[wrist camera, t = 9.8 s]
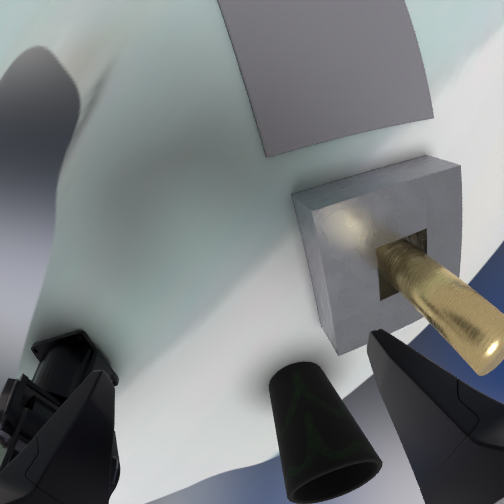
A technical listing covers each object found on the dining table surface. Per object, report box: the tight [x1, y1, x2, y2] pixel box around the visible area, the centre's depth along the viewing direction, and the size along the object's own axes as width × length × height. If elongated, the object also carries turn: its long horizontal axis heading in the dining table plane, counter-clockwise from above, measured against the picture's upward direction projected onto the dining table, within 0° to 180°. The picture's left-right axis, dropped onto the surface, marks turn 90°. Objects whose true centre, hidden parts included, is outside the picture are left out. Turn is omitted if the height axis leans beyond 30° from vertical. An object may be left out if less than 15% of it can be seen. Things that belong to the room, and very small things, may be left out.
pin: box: [376, 238, 504, 376], centre depth 18 cm, size 3×3×14 cm
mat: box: [218, 0, 434, 157], centre depth 17 cm, size 14×12×1 cm
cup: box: [269, 362, 382, 504], centre depth 24 cm, size 8×8×12 cm
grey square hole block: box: [292, 155, 462, 356], centre depth 22 cm, size 12×12×4 cm
